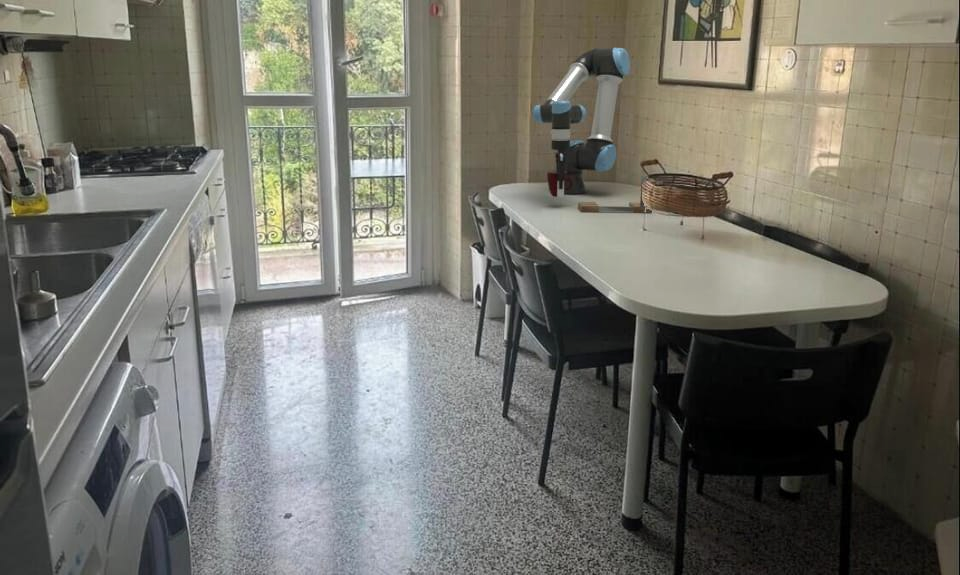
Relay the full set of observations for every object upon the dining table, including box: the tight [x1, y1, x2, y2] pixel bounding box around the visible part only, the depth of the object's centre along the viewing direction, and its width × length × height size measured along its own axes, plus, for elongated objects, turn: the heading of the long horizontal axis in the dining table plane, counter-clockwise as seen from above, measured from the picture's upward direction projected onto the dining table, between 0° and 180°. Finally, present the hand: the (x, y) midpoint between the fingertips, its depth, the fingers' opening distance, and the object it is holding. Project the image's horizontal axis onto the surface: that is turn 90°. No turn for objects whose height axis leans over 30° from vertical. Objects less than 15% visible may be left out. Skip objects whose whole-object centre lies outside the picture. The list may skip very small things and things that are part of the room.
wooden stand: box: [577, 175, 653, 214], centre depth 290 cm, size 13×28×14 cm, turn 88°
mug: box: [546, 170, 573, 198], centre depth 300 cm, size 10×8×10 cm
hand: (559, 195), depth 301 cm, fingers closed on mug, 8 cm apart
